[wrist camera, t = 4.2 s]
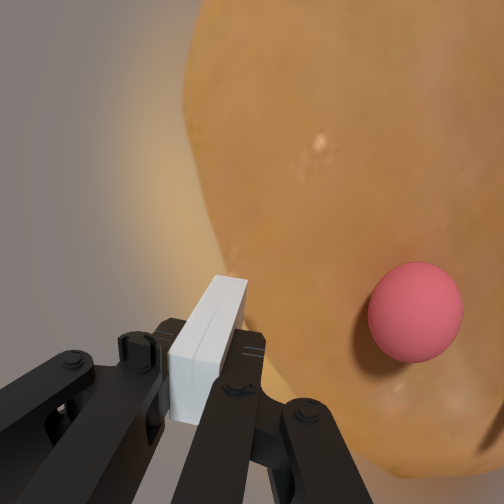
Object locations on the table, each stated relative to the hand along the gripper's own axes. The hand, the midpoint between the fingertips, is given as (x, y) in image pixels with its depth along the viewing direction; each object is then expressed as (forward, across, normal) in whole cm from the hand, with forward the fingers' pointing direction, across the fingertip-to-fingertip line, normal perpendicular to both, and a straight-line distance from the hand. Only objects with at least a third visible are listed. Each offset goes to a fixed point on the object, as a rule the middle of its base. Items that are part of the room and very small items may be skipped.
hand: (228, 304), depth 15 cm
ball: (+2, +10, 0) cm, 10 cm away
